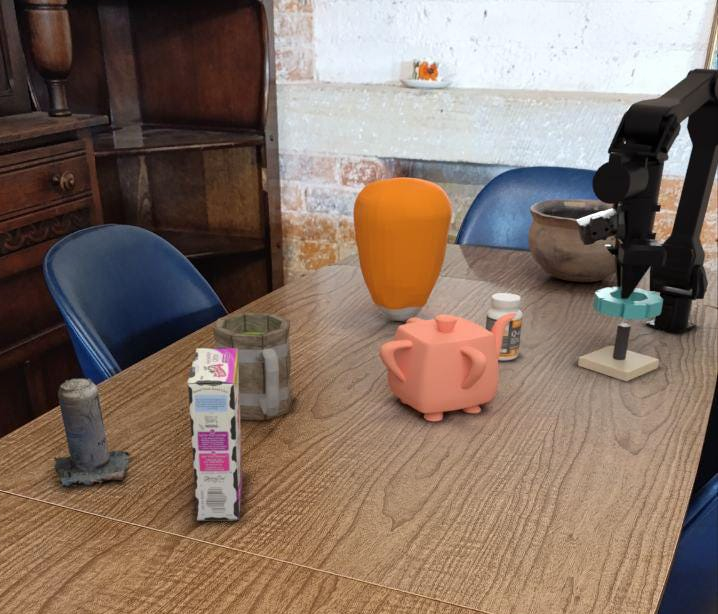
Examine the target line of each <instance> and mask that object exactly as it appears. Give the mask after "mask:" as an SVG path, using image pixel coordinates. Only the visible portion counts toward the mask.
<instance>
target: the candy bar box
mask: <svg viewBox="0 0 718 614" xmlns="http://www.w3.org/2000/svg"><path fill="white" fill-rule="evenodd" d="M191 363H192V364H191V368H190V372H189V376H188V379H187V390H188V391H187V392H188V406H189V407H188V408H189V420H190V435H191V436H190V437H191V450H192V465H193V467H192V468H193V481H194V494H195V495H194V496H195V510H196V521H198V522H216V521H217V522H231V521H239V520H240V514H241V501H242V489H243V488H242V487H243V451H242V426H241V425H242V424H241V423H242V422H241V419H240V397H239V372H238V349H237V348H216V347H202V348H201V347H200V348H199V347H198V348H196V349H195V352H194V356H193V360H192V362H191Z"/></svg>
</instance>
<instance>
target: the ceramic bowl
mask: <svg viewBox="0 0 718 614" xmlns="http://www.w3.org/2000/svg"><path fill="white" fill-rule="evenodd" d="M612 206H613V204H607V203H604V202H602V201H601V200H599V199H581V198H579V199H578V198H552V199H548V200H542V201H538V202H536V203H533V204H532V205H531V206H530V208H529V211H530V214H531V217H532V218H533V219H532V221H531V224H530V227H529V228H528V229H529V231H528V236H527V239H528V240H527V241H528V247H529V251H530V253H531V255H532V257H533V259H534V261H535V262H536V263H537V264H538V265H539V266H540V267H541V269H542V270H543V271H544V272H545V273H547V274H548V275H549V276H551V277H553V278H556V279H560V280H563V281H567V282H574V283H595V282H600V281H602V280H604V279H607V278H608V277H610V276H611V275H613V274H614V273H615V274H616V270H615V260H614V257H613V256H612V254H611V253H610V252H609V251H608V250H607V248H606V247H605V245H611V238H612V237H608V238H607V239H606V240H598V241H596V242H595V243H593V244H590V245H584V244H583V242H582V241H581V239H580V234H579V230H578V226H577V220H578V219H580V218H583V217H586V216H589V215H592V214H595V213H598V212H601V211H606V210H609V209H612Z"/></svg>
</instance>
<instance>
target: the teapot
mask: <svg viewBox="0 0 718 614" xmlns="http://www.w3.org/2000/svg"><path fill="white" fill-rule="evenodd" d="M516 315H517V313H510V314H506V315H503V316H501V317H500V318H499V319H498V320H497V321H496V322H495V324H494V326H493V328H492V330H491V332H490V331H488V330H486V327H485V328H484V327H483V326H481V325H479V324H477V323H475V322H473V321H471V320H468V319H466V318H464V317H461V316H455V315H452V314H446V313H445V314H439V315H436V316H434V318H433V319H426V320H424V319H421V318H419V317H414V318H409V319H408V320H406V323H405V324H401V325H398V327H397V328H396V331H395V334H394V337H393V340H391V341H389V342H386V343H383V344H382V345H381V346H380V348H379V350H378V351H379V352H378V353H379V357H380V360H381V362H382V363H383V365H384V366H385V368H387V371H386V372H387V374H386V379H387V383H388V387H389V391H390V392H391V393H392V394H393V395H395V396H396V397H397V398H399V399H400V402H401V403H402V404H404V405H408V406H410V407H411V408H413V409H415V410H416V411H418V412H420V413H422V414H424V415H423V419H424V420H426V421H428V422H429V421H430V422H439V421H442V420H443V418H444V413H445V412H451V411H457V410H458V411H459V410H462V411H463V412H465V413H468V414H478V413H481V411H482V409H481V407H480V406H479V405H483V404H485V403H489V402H491V401H493V400H494V398H495V395H496V394H497V391H498V387H499V374H500V373H499V360H498V358H499V355H500V352H501V346H502V340H503V335H504V331H505V328H506V326H507V325H508V323H509V322H510V321H511V320H512V319H513V318H514V317H515V316H516Z"/></svg>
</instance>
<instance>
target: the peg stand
mask: <svg viewBox="0 0 718 614" xmlns="http://www.w3.org/2000/svg"><path fill="white" fill-rule="evenodd" d="M631 328H632V325H631V324H629V323H625V322H621V323H617V326H616V334H615V340H614V345H612V344H611V345H610V344H609V345H607V346H605V347H602V348H600V349H597V350H593V351H592V352H589V353H586V354H583V355H581V356H579V357H578V361H577V362H578V363H577V367H581V368H583V369H587V370H590V371H592V372H596V373H599V374H602V375H605V376H608V377H612V378H614V379H618V380H620V381H624V382H629V381H630V380H633V379H635V378H637V377H640V376H642V375H645V374H647V373H649V372H651V371H655V370H657V369H658V368H659V367H658V366H659V362H660V359H659V358H655V357H652V356H648V355H645V354H642V353H639V352H635V351H633V350H628V346H629V341H630V335H631V330H632V329H631Z"/></svg>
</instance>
